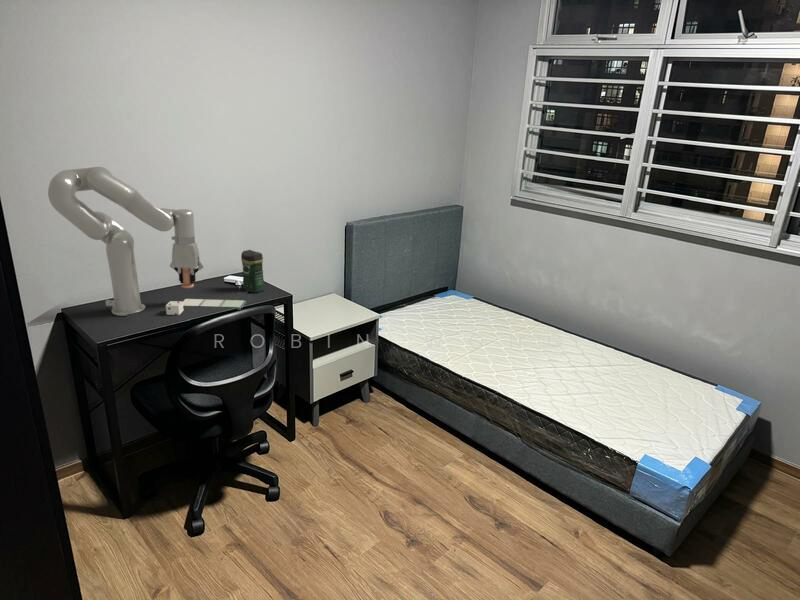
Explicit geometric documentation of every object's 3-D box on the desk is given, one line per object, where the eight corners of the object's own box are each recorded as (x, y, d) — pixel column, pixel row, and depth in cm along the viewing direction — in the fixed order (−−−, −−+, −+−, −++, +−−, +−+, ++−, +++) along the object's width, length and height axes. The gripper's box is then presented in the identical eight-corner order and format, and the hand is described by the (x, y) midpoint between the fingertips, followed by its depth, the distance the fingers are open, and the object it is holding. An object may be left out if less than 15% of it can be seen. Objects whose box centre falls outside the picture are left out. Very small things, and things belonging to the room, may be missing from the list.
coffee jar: (267, 290, 258) (265, 251, 252) (253, 294, 252) (251, 254, 246) (254, 285, 264) (252, 247, 258) (240, 289, 258) (237, 250, 252)
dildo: (179, 287, 232) (178, 263, 229) (184, 284, 237) (182, 260, 234) (191, 288, 233) (190, 264, 229) (195, 285, 237) (194, 261, 234)
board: (177, 308, 234) (177, 305, 233) (184, 300, 242) (184, 298, 242) (240, 309, 234) (240, 307, 234) (246, 302, 243) (245, 300, 242)
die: (166, 317, 224) (165, 304, 222) (171, 312, 229) (170, 300, 227) (179, 317, 224) (177, 305, 222) (183, 312, 229) (182, 300, 227)
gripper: (160, 240, 224) (164, 284, 230) (202, 243, 225) (204, 286, 231) (168, 236, 232) (170, 279, 238) (208, 239, 232) (210, 281, 238)
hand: (187, 282), depth 234 cm, fingers closed on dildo, 3 cm apart
